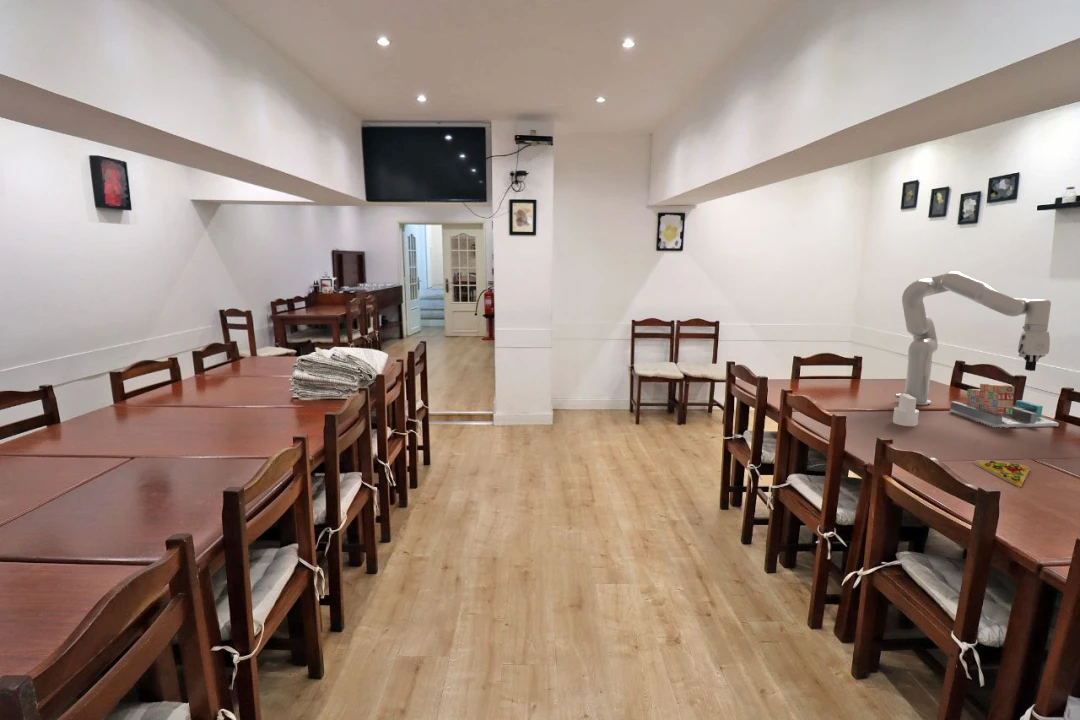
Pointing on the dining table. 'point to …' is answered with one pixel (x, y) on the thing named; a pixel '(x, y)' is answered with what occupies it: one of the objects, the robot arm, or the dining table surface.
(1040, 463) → the dining table surface
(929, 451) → the dining table surface
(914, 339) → the robot arm
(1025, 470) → the pizza slice
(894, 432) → the dining table surface
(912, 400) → the base with upright slab
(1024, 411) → the sliding jaw
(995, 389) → the stack of blocks
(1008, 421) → the base
